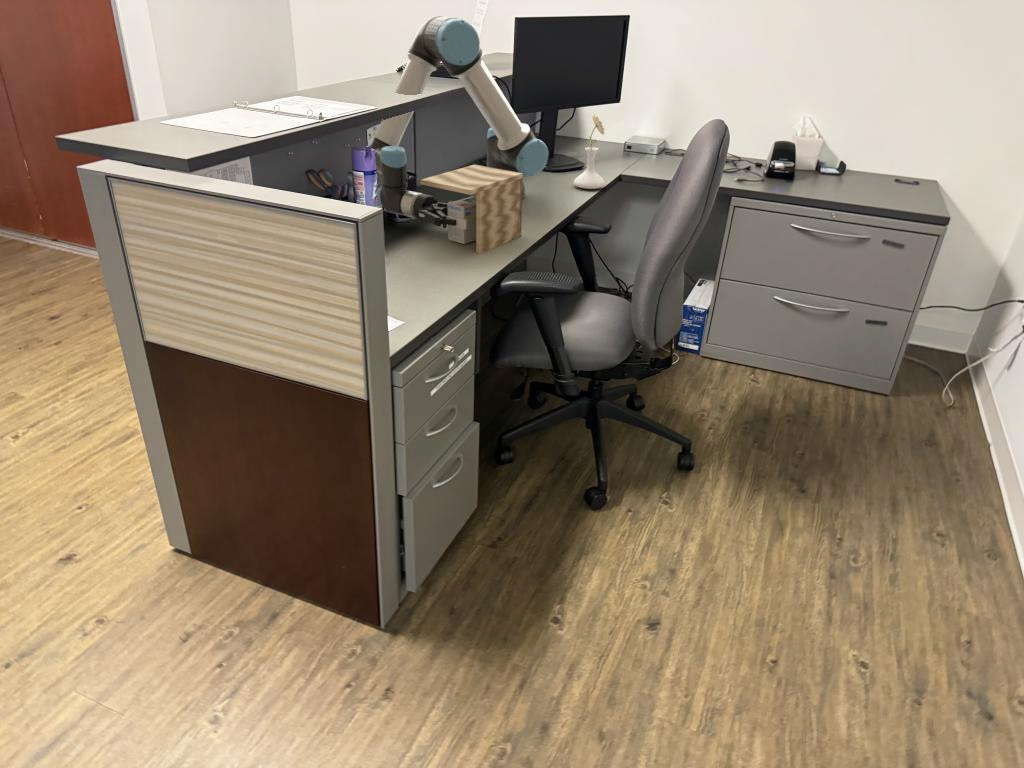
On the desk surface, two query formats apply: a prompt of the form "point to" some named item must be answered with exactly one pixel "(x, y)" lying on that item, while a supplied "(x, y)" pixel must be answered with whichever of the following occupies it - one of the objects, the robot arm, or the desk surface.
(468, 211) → the light bulb box
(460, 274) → the desk surface
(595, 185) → the flower in vase
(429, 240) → the desk surface
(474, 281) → the desk surface
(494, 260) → the desk surface
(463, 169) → the wooden monitor riser
